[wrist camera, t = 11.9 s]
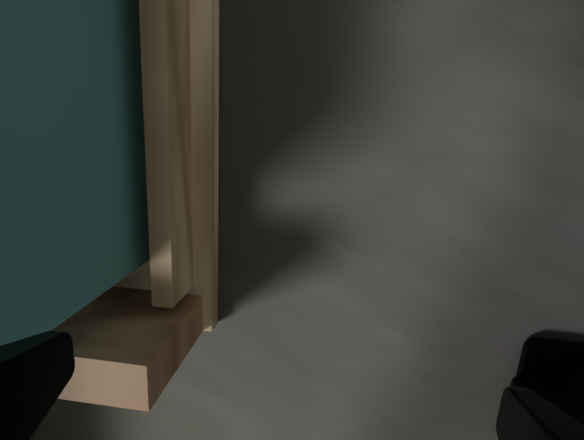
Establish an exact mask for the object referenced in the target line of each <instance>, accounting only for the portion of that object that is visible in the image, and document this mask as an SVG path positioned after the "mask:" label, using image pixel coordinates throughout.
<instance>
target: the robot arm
mask: <svg viewBox="0 0 584 440" xmlns="http://www.w3.org/2000/svg"><path fill="white" fill-rule="evenodd" d="M535 347H539V349H538V350H536V351H532V350H533V348H535ZM74 370H75V359H74V349H73V339H72V336H71V334H70V333H68V332H63V331H55V330H49V331H46V332H43V333H39V334H36V335H33V336H30V337H27V338H24V339H20V340H17V341H14V342H11V343H8V344H5V345H1V346H0V440H30V439H31V437H32V436H33V434H34V433H35V432H36V430H37V429H38V427H39V426H40V424H41V423H42V421H43V420H44V418H45V417H46V415H47V414H48V412H49V411H50V409H51V408H52V406H53V405H54V403H55V402H56V400H57V399H58V397H59V396H60V394H61V393H62V391H63V390H64V388H65V387H66V385H67V384H68V382H69V381H70V379H71V377H72V375H73V373H74ZM496 431H497V436H498V439H499V440H584V343H579V342H570V341H561V340H551V339H542V338H530V339H528V340H527V341H526V342H525V343H524V345H523V348H522V353H521V357H520V361H519V366H518V370H517V374H516V376H515V377H514V378H513V379H512V381H511V386H508V387H506V388H505V389H504V391H503V394H502V399H501V403H500V408H499V412H498V417H497V422H496Z"/></svg>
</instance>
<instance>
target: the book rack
mask: <svg viewBox="0 0 584 440" xmlns="http://www.w3.org/2000/svg"><path fill="white" fill-rule="evenodd" d="M139 18H140V41H141V65H142V88H143V111H144V134H145V158H146V181H147V204H148V228H149V251H150V260H148V261H147V262H146V263H144V264H143V265H141V266H140V267H139V268H137V269H136V270H134V271H133V272H132V273H130V274H129V275H128V276H126V277H125V278H123V279H122V280H121V281H119V282H118V283H117V284H115V285H114V286H112V287H111V288H110V289H108V290H107V291H106V292H104V293H103V294H101V295H100V296H99V297H97V298H96V299H94V300H93V301H92V302H90V303H89V304H88V305H86V306H85V307H83V308H82V309H81V310H79V311H78V312H77V313H75V314H74V315H72V316H71V317H70V318H68V319H67V320H66V321H64V322H63V323H61V324H60V325H59V326H57V327H56V328H54V329H53V330H55V331H63V332H68V333H70V334H71V336H72V339H73V349H74V359H75V370H74V373H73V375H72V377H71V379H70V381H69V382H68V384H67V385H66V387H65V388H64V390H63V391H62V393H61V394H60V396H59V397H58V399H63V400H70V401H77V402H84V403H91V404H98V405H105V406H112V407H119V408H126V409H133V410H140V411H147V412H149V411H150V409H151V408H152V406H153V405H154V403H155V402H156V400H157V399H158V397H159V396H160V394H161V393H162V391H163V390H164V388H165V387H166V385H167V384H168V382H169V381H170V379H171V378H172V376H173V375H174V373H175V372H176V370H177V369H178V367H179V366H180V364H181V363H182V361H183V360H184V358H185V357H186V355H187V354H188V352H189V351H190V349H191V348H192V346H193V345H194V343H195V342H196V340H197V339H198V337H199V336H200V334H201V333H202V331H213V329H214V328H215V326H216V324H217V323H218V170H219V0H139Z"/></svg>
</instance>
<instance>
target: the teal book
mask: <svg viewBox="0 0 584 440" xmlns="http://www.w3.org/2000/svg"><path fill="white" fill-rule="evenodd" d="M148 260H150V251H149V228H148V204H147V181H146V158H145V134H144V111H143V88H142V65H141V41H140V18H139V0H0V346H1V345H5V344H8V343H11V342H14V341H17V340H20V339H24V338H27V337H30V336H33V335H36V334H39V333H43V332H46V331H49V330H53V329H54V328H56V327H57V326H59V325H60V324H61V323H63V322H64V321H66V320H67V319H68V318H70V317H71V316H72V315H74V314H75V313H77V312H78V311H79V310H81V309H82V308H83V307H85V306H86V305H88V304H89V303H90V302H92V301H93V300H94V299H96V298H97V297H99V296H100V295H101V294H103V293H104V292H106V291H107V290H108V289H110V288H111V287H112V286H114V285H115V284H117V283H118V282H119V281H121V280H122V279H123V278H125V277H126V276H128V275H129V274H130V273H132V272H133V271H134V270H136V269H137V268H139V267H140V266H141V265H143V264H144V263H146V262H147V261H148Z"/></svg>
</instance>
